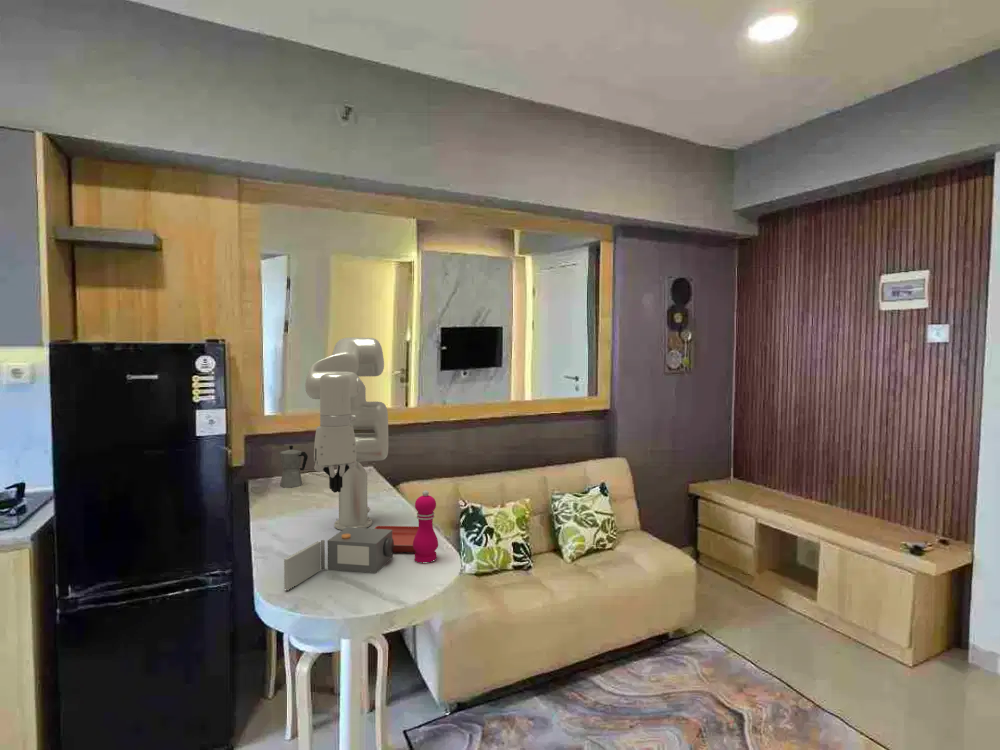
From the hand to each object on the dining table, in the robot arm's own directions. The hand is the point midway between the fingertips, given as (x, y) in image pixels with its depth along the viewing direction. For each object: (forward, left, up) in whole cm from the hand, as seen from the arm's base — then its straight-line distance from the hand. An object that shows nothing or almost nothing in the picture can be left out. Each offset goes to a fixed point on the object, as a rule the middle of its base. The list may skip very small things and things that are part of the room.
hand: (335, 491), depth 144 cm
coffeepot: (-92, -66, -23) cm, 116 cm away
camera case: (-11, +2, -23) cm, 26 cm away
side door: (+2, -7, -23) cm, 24 cm away
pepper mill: (-17, +19, -23) cm, 35 cm away
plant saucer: (-28, +7, -24) cm, 38 cm away
